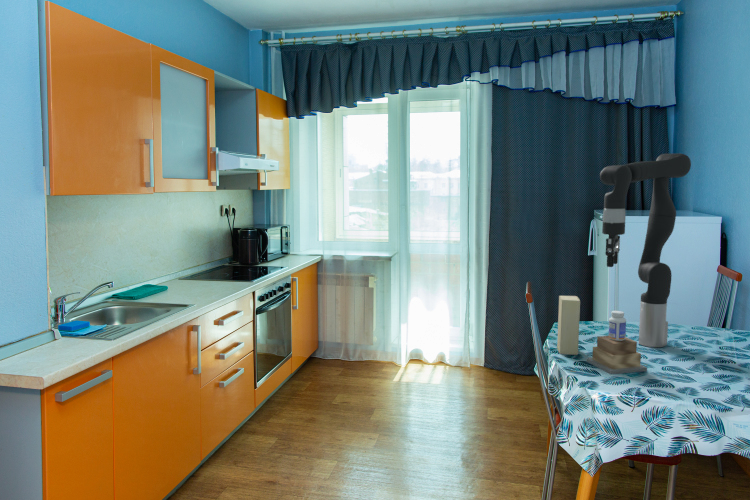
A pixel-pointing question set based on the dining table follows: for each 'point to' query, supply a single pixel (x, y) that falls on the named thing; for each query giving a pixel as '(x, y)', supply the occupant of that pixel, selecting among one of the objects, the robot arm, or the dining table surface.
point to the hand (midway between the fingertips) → (612, 265)
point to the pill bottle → (617, 326)
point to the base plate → (616, 371)
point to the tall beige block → (568, 325)
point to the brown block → (616, 353)
